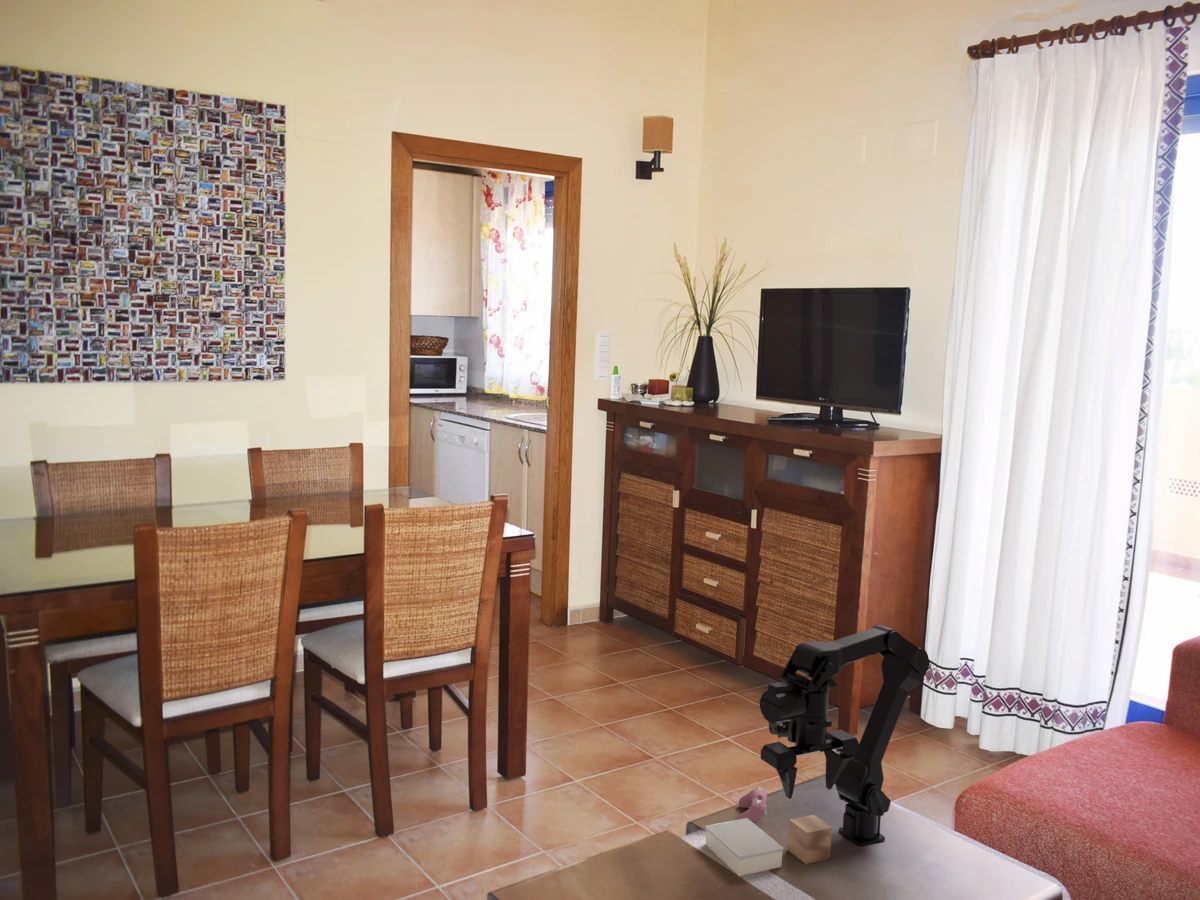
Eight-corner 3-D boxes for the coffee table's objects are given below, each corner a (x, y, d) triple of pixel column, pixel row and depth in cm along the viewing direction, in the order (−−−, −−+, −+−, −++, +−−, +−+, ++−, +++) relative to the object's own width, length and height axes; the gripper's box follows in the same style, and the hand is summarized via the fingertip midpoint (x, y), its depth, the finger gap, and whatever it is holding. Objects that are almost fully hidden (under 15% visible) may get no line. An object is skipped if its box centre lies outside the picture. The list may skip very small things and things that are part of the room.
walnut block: (811, 844, 183) (813, 814, 183) (829, 858, 178) (831, 827, 178) (788, 850, 181) (789, 819, 180) (805, 864, 176) (807, 833, 175)
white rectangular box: (746, 837, 186) (747, 817, 185) (782, 868, 175) (783, 847, 174) (704, 846, 182) (705, 825, 182) (738, 878, 171) (739, 857, 171)
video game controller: (754, 837, 189) (771, 808, 187) (733, 824, 189) (751, 796, 188) (756, 814, 198) (772, 787, 197) (736, 802, 199) (753, 775, 198)
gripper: (824, 691, 188) (821, 767, 190) (744, 705, 180) (742, 784, 182) (862, 710, 178) (859, 790, 180) (780, 726, 170) (777, 810, 172)
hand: (808, 793), depth 179 cm, fingers open, 9 cm apart
